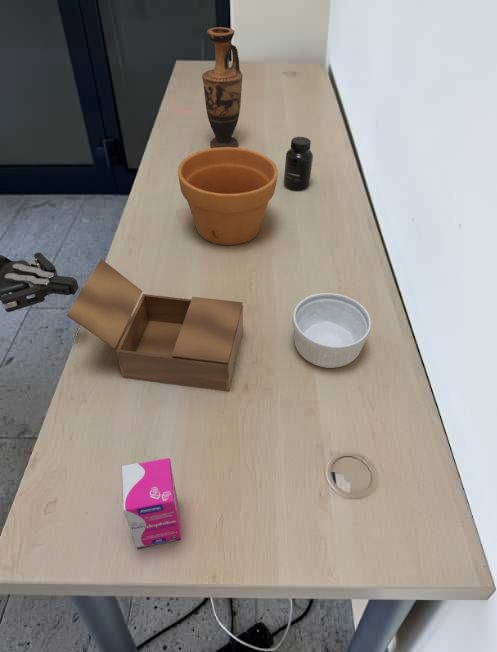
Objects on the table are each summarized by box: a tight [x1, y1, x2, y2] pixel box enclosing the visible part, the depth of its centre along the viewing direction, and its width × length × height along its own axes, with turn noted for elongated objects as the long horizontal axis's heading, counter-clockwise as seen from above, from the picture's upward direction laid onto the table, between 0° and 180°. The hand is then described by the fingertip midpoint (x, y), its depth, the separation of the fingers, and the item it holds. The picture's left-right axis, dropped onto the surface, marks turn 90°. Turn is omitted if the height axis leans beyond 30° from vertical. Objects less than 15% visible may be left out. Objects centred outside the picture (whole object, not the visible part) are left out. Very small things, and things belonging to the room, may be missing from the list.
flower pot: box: [177, 147, 279, 246], centre depth 108 cm, size 21×21×15 cm
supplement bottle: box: [283, 136, 314, 192], centre depth 123 cm, size 7×7×12 cm
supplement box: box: [121, 457, 182, 549], centre depth 59 cm, size 6×6×12 cm
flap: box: [66, 258, 143, 349], centre depth 79 cm, size 14×9×1 cm
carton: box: [115, 293, 244, 392], centre depth 82 cm, size 14×18×7 cm
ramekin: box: [291, 292, 372, 369], centre depth 84 cm, size 13×13×7 cm
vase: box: [201, 26, 243, 149], centre depth 134 cm, size 11×11×30 cm
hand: (75, 286), depth 78 cm, fingers closed
